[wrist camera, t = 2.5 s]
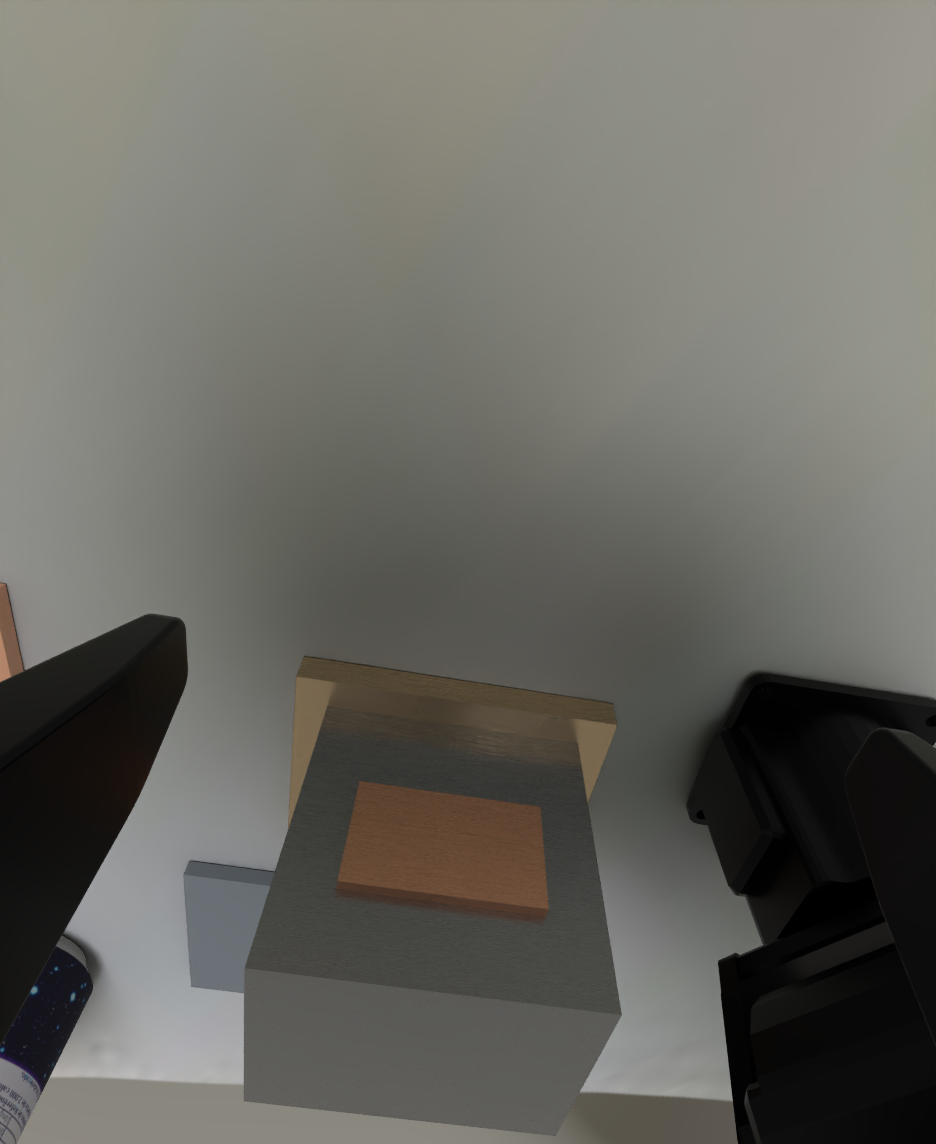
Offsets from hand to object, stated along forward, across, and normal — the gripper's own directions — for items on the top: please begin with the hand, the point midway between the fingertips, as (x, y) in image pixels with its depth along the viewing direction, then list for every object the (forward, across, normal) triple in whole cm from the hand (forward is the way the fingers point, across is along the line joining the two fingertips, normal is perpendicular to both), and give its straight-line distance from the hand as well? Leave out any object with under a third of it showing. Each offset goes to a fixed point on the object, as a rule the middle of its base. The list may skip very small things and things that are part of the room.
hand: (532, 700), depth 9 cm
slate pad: (+10, +5, +23) cm, 26 cm away
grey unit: (+10, 0, +12) cm, 16 cm away
